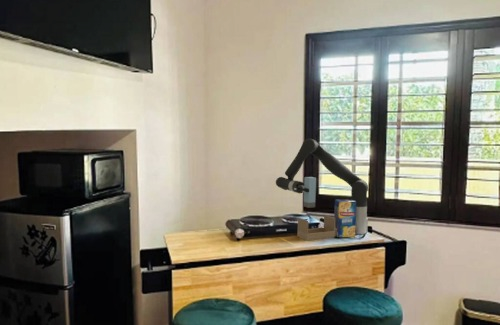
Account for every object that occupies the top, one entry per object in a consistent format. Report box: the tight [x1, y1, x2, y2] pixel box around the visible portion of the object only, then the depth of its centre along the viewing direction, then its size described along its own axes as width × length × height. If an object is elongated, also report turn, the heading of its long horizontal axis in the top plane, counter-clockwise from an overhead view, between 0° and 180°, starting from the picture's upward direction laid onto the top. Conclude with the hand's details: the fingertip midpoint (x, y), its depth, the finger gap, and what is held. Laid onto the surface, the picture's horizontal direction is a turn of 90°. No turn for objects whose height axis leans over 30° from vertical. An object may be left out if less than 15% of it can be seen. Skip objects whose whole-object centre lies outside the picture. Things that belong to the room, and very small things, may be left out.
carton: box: [296, 215, 336, 242], centre depth 225 cm, size 20×10×12 cm, turn 116°
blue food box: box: [333, 199, 356, 238], centre depth 229 cm, size 7×11×22 cm, turn 100°
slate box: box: [303, 176, 317, 209], centre depth 230 cm, size 5×5×18 cm
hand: (312, 190), depth 228 cm, fingers closed on slate box, 5 cm apart
